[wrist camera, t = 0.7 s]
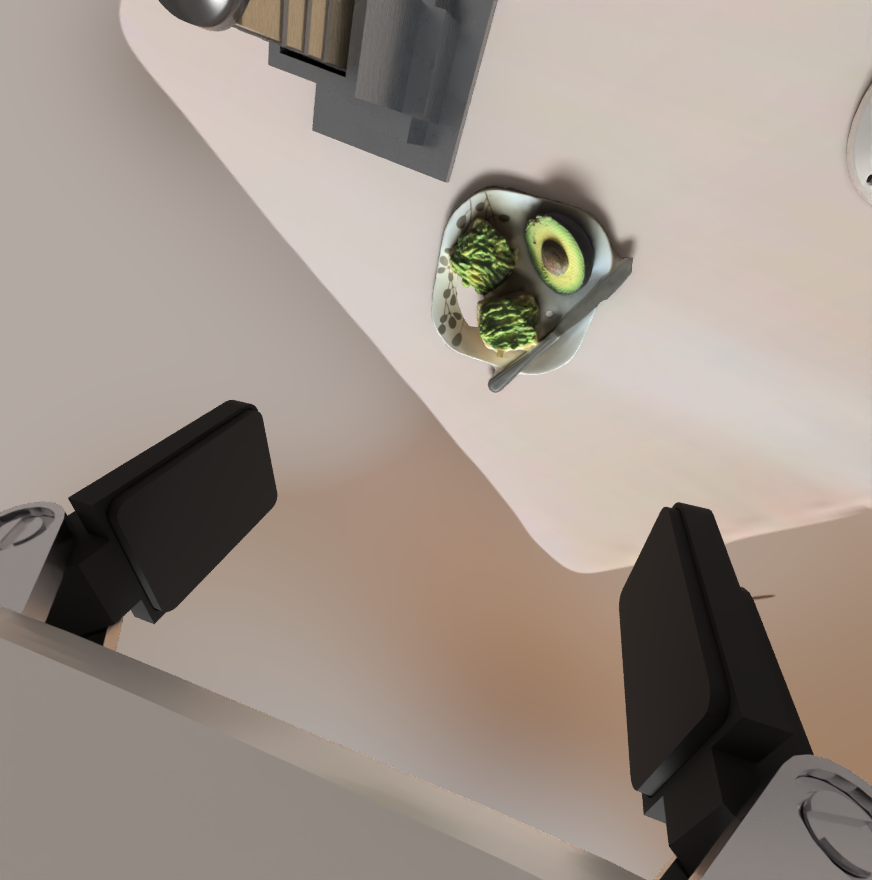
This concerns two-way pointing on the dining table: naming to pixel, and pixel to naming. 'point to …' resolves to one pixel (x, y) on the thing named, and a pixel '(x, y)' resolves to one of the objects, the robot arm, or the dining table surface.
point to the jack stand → (401, 79)
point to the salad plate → (523, 280)
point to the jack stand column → (279, 23)
